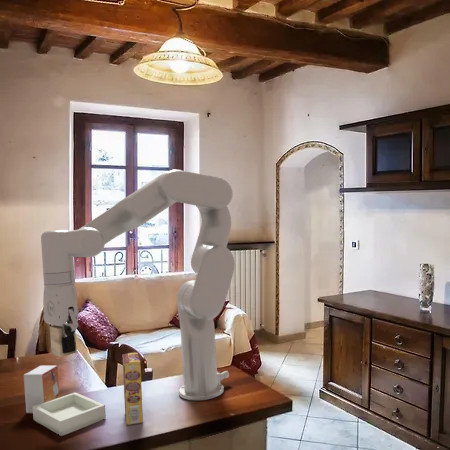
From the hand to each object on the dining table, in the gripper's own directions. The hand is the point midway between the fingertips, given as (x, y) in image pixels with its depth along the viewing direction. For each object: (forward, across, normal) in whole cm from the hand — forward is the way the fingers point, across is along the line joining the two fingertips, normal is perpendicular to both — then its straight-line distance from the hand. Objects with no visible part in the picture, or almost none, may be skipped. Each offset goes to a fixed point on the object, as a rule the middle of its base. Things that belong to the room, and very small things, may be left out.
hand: (64, 349), depth 124 cm
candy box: (+18, +13, +11) cm, 25 cm away
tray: (+18, 0, 0) cm, 18 cm away
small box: (+18, -13, 0) cm, 23 cm away
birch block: (+1, 0, 0) cm, 1 cm away
